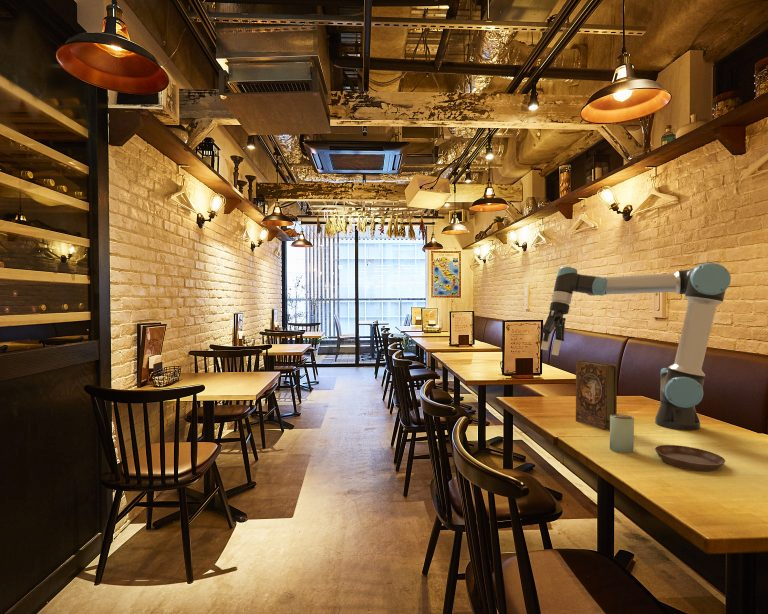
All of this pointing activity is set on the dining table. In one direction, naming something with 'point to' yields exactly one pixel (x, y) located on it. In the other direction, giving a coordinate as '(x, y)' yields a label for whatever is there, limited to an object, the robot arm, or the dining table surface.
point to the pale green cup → (622, 433)
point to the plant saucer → (690, 457)
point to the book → (595, 393)
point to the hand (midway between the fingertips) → (549, 352)
